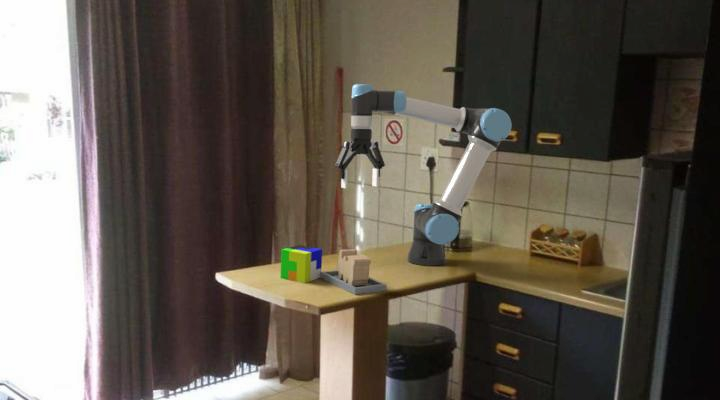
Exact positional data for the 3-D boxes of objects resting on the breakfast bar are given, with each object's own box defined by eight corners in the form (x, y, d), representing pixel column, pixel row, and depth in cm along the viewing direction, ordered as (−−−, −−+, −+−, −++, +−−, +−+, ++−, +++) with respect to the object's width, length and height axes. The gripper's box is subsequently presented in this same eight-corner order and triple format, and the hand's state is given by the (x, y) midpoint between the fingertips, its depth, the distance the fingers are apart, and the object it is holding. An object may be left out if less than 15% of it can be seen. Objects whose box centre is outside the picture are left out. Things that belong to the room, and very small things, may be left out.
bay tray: (320, 277, 220) (320, 271, 220) (349, 274, 226) (349, 268, 226) (354, 294, 201) (355, 288, 200) (386, 290, 207) (386, 284, 207)
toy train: (351, 275, 222) (352, 247, 221) (369, 288, 207) (371, 258, 205) (336, 276, 220) (337, 248, 219) (353, 289, 205) (355, 259, 203)
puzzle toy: (321, 277, 221) (322, 249, 219) (304, 283, 212) (305, 253, 211) (297, 272, 226) (298, 245, 224) (280, 278, 217) (281, 249, 216)
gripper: (383, 128, 237) (381, 184, 240) (326, 127, 223) (324, 187, 225) (395, 128, 231) (393, 186, 233) (337, 128, 216) (336, 189, 219)
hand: (359, 187), depth 229 cm, fingers open, 13 cm apart
